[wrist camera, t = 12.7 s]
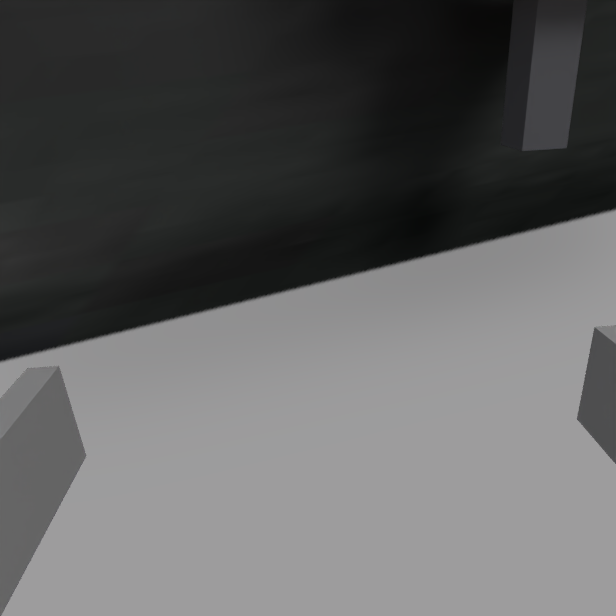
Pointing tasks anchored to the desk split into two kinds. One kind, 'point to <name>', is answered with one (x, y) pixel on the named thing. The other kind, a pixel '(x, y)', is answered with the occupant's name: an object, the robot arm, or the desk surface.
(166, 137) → the desk surface
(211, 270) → the desk surface
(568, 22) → the door
